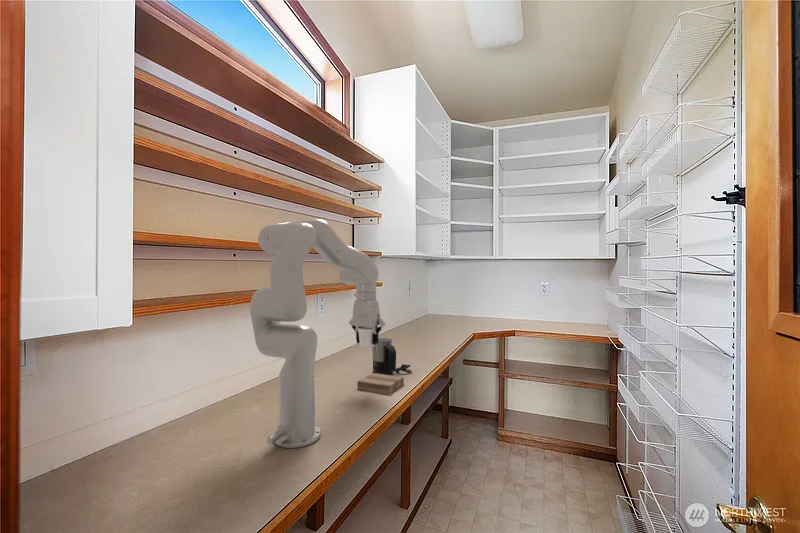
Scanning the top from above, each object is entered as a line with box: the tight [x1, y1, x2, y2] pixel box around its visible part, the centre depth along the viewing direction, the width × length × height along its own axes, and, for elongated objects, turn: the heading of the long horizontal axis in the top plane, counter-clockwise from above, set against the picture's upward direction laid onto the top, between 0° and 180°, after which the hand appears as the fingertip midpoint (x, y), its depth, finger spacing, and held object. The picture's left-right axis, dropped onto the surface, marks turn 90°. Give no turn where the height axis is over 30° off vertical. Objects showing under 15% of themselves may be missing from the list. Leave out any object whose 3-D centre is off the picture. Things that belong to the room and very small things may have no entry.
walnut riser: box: [357, 373, 405, 395], centre depth 143 cm, size 12×14×3 cm
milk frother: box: [371, 337, 412, 375], centre depth 162 cm, size 14×16×15 cm
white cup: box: [358, 327, 375, 348], centre depth 140 cm, size 7×7×7 cm
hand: (367, 342), depth 140 cm, fingers closed on white cup, 6 cm apart
